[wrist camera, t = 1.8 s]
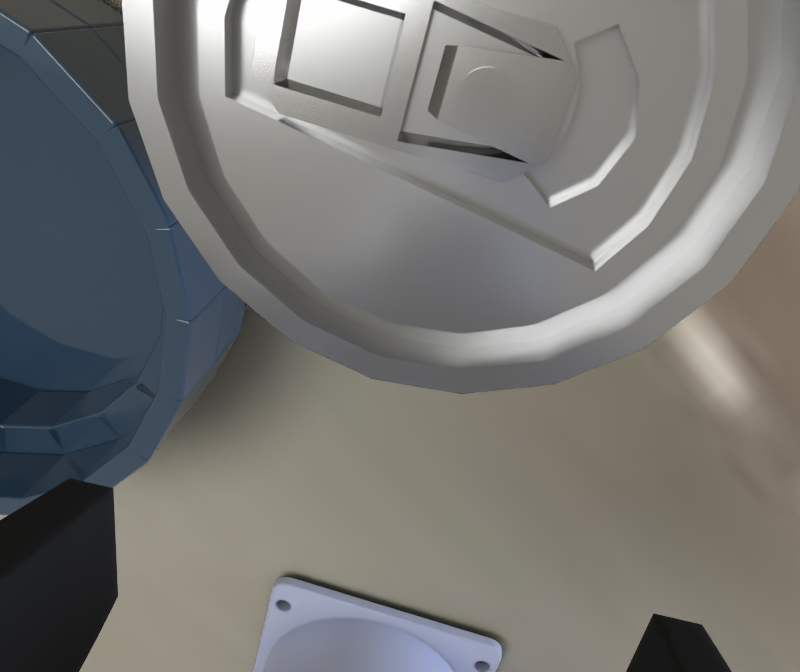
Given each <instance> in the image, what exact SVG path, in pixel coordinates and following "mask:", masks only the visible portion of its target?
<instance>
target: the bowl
mask: <svg viewBox="0 0 800 672" xmlns="http://www.w3.org/2000/svg"><path fill="white" fill-rule="evenodd" d="M244 309H245V302H244V301H243V300H242V299H240V298H239V297H238V296H237V295H236V294H235V293H233V292H232V291H231V290H230V289H229V288H228V287H226V286H225V285H224V284H223V283H222V282H220V281H219V279H218V278H217V276H216V275H215V274H214V272H213V271H212V269H211V268H210V266H209V265H208V263H207V262H206V260H205V259H204V258H203V256H202V255H201V253H200V252H199V250H198V249H197V247H196V246H195V244H194V243H193V242H192V240H191V239H190V237H189V236H188V234H187V233H186V231H185V230H184V228H183V227H182V226H181V224H180V223H179V221H178V220H177V218H176V217H175V215H174V214H173V212H172V211H171V210H170V208H169V207H168V205H167V204H166V202H165V201H164V199H163V196H162V194H161V191H160V188H159V185H158V182H157V179H156V176H155V174H154V171H153V168H152V165H151V162H150V159H149V156H148V154H147V151H146V148H145V145H144V142H143V139H142V137H141V134H140V131H139V128H138V125H137V122H136V119H135V117H134V114H133V111H132V108H131V105H130V102H129V97H128V83H127V68H126V53H125V38H124V24H123V15H122V14H120V13H119V12H117V11H116V10H114V9H113V8H111V7H110V6H108V5H107V4H105V3H104V2H102V1H101V0H0V515H10V514H11V513H13V512H15V511H16V510H18V509H20V508H21V507H23V506H25V505H26V504H28V503H29V502H31V501H33V500H34V499H36V498H38V497H39V496H41V495H43V494H44V493H46V492H48V491H49V490H51V489H52V488H54V487H56V486H58V485H59V484H61V483H63V482H64V481H66V480H68V479H69V478H72V479H76V480H80V481H85V482H89V483H93V484H97V485H102V486H106V487H110V488H113V487H115V486H116V485H117V484H119V483H120V482H121V481H123V480H124V479H125V478H127V477H128V476H129V475H131V474H132V473H134V472H135V471H136V470H138V469H139V468H140V467H142V466H143V465H144V464H146V463H147V462H148V461H149V460H150V459H151V457H152V456H153V455H154V454H155V452H156V451H157V450H158V449H159V447H160V446H161V445H162V443H163V442H164V441H165V440H166V438H167V437H168V436H169V435H170V433H171V432H172V431H173V429H174V428H175V427H176V426H177V424H178V423H179V422H180V421H181V419H182V418H183V416H184V415H185V414H186V413H187V412H188V410H189V409H190V408H191V407H192V405H193V404H194V403H195V401H196V400H197V399H198V398H199V396H200V395H201V394H202V393H203V391H204V390H205V389H206V387H207V386H208V385H209V384H210V382H211V381H212V379H213V378H214V376H215V374H216V372H217V371H218V369H219V367H220V366H221V364H222V362H223V360H224V359H225V357H226V355H227V354H228V352H229V350H230V348H231V347H232V345H233V343H234V342H235V340H236V338H237V337H238V335H239V333H240V329H241V327H242V321H243V315H244Z"/></svg>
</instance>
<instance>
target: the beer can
mask: <svg viewBox="0 0 800 672" xmlns="http://www.w3.org/2000/svg"><path fill="white" fill-rule="evenodd" d="M122 9H123V24H124V38H125V53H126V68H127V83H128V97H129V102H130V105H131V108H132V111H133V114H134V117H135V119H136V122H137V125H138V128H139V131H140V134H141V137H142V139H143V142H144V145H145V148H146V151H147V154H148V156H149V159H150V162H151V165H152V168H153V171H154V174H155V176H156V179H157V182H158V185H159V188H160V191H161V194H162V196H163V199H164V201H165V202H166V204H167V205H168V207H169V208H170V210H171V211H172V212H173V214H174V215H175V217H176V218H177V220H178V221H179V223H180V224H181V226H182V227H183V228H184V230H185V231H186V233H187V234H188V236H189V237H190V239H191V240H192V242H193V243H194V244H195V246H196V247H197V249H198V250H199V252H200V253H201V255H202V256H203V258H204V259H205V260H206V262H207V263H208V265H209V266H210V268H211V269H212V271H213V272H214V274H215V275H216V276H217V278H218V279H219V281H220V282H222V283H223V284H224V285H225V286H226V287H228V288H229V289H230V290H231V291H232V292H233V293H235V294H236V295H237V296H238V297H239V298H240V299H242V300H243V301H244V302H245V303H246V304H248V305H249V306H250V307H251V308H252V309H253V310H255V311H256V312H257V313H258V314H259V315H261V316H262V317H263V318H264V319H265V320H266V321H268V322H269V323H270V324H271V325H272V326H274V327H275V328H276V329H277V330H278V331H279V332H281V333H282V334H283V335H284V336H285V337H286V338H288V339H289V340H290V341H292V342H294V343H296V344H298V345H300V346H303V347H305V348H307V349H309V350H311V351H313V352H315V353H318V354H320V355H322V356H324V357H326V358H328V359H330V360H333V361H335V362H337V363H339V364H341V365H343V366H346V367H348V368H350V369H352V370H354V371H356V372H358V373H361V374H363V375H365V376H367V377H369V378H371V379H375V380H381V381H387V382H393V383H399V384H405V385H411V386H417V387H423V388H429V389H435V390H441V391H447V392H453V393H459V394H466V393H476V392H485V391H495V390H504V389H514V388H523V387H533V386H542V385H552V384H556V383H558V382H561V381H563V380H566V379H568V378H571V377H573V376H576V375H578V374H581V373H584V372H586V371H589V370H591V369H594V368H596V367H599V366H601V365H604V364H606V363H609V362H611V361H614V360H616V359H619V358H621V357H624V356H626V355H629V354H631V353H634V352H636V351H639V350H642V349H644V348H646V347H647V346H648V345H650V344H651V343H652V342H654V341H655V340H656V339H658V338H659V337H660V336H662V335H663V334H664V333H665V332H667V331H668V330H669V329H671V328H672V327H673V326H675V325H676V324H677V323H679V322H680V321H681V320H682V319H684V318H685V317H686V316H688V315H689V314H690V313H692V312H693V311H694V310H696V309H697V308H698V307H700V306H701V305H702V304H703V303H705V302H706V301H707V300H709V299H710V298H711V297H713V296H714V295H715V294H717V293H718V292H719V291H720V290H722V289H723V288H724V287H726V286H727V285H728V284H729V283H730V282H731V281H732V279H733V278H734V277H735V275H736V274H737V273H738V271H739V270H740V269H741V267H742V266H743V264H744V263H745V262H746V260H747V259H748V258H749V256H750V255H751V254H752V252H753V251H754V250H755V248H756V247H757V246H758V244H759V243H760V242H761V240H762V239H763V238H764V236H765V235H766V234H767V232H768V231H769V230H770V228H771V227H772V226H773V224H774V223H775V222H776V220H777V219H778V218H779V216H780V215H781V213H782V212H783V211H784V209H785V208H786V207H787V205H788V204H789V203H790V201H791V200H792V199H793V197H794V196H795V195H796V193H797V192H798V189H799V187H800V0H122Z"/></svg>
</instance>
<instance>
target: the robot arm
mask: <svg viewBox="0 0 800 672" xmlns="http://www.w3.org/2000/svg"><path fill="white" fill-rule="evenodd" d="M117 597H118V587H117V564H116V541H115V519H114V496H113V488H110V487H106V486H102V485H97V484H93V483H89V482H85V481H80V480H76V479H72V478H69V479H68V480H66V481H64V482H63V483H61V484H59V485H58V486H56V487H54V488H52V489H51V490H49V491H48V492H46V493H44V494H43V495H41V496H39V497H38V498H36V499H34V500H33V501H31V502H29V503H28V504H26V505H25V506H23V507H21V508H20V509H18V510H16V511H15V512H13V513H11V514H10V515H8V516H7V517H5V518H3V519H2V520H0V672H79V670H80V669H81V667H82V665H83V663H84V661H85V659H86V657H87V656H88V654H89V652H90V650H91V648H92V646H93V644H94V642H95V641H96V639H97V637H98V635H99V633H100V631H101V629H102V627H103V625H104V623H105V621H106V619H107V617H108V615H109V613H110V611H111V609H112V607H113V605H114V603H115V601H116V599H117ZM282 600H285V601H286V602H284V601H282ZM501 657H502V648H501V645H500V644H499V643H498V642H497V641H496V640H494V639H491V638H488V637H485V636H482V635H479V634H475V633H472V632H469V631H465V630H462V629H459V628H456V627H452V626H449V625H446V624H442V623H439V622H436V621H433V620H429V619H426V618H423V617H419V616H416V615H413V614H410V613H406V612H403V611H400V610H396V609H393V608H390V607H386V606H383V605H380V604H377V603H373V602H370V601H367V600H363V599H360V598H357V597H354V596H350V595H347V594H344V593H340V592H337V591H334V590H331V589H327V588H324V587H321V586H317V585H314V584H311V583H308V582H304V581H301V580H298V579H294V578H291V577H281V578H279V579H277V580H276V582H275V584H274V586H273V589H272V592H271V596H270V600H269V605H268V609H267V613H266V618H265V622H264V626H263V631H262V635H261V640H260V644H259V648H258V653H257V657H256V661H255V666H254V670H253V672H495V671H496V669H497V667H498V665H499V663H500V661H501ZM480 661H485V662H480ZM626 672H731V670H730V668H729V667H728V665H727V664H726V662H725V660H724V659H723V657H722V656H721V654H720V653H719V651H718V649H717V648H716V646H715V645H714V643H713V641H712V640H711V638H710V637H709V635H708V634H707V632H706V630H705V629H704V627H703V626H702V625H701V624H696V623H692V622H688V621H683V620H679V619H675V618H671V617H666V616H662V615H658V614H653V616H652V618H651V620H650V622H649V624H648V626H647V629H646V631H645V633H644V635H643V637H642V639H641V641H640V643H639V646H638V648H637V650H636V652H635V654H634V656H633V658H632V660H631V663H630V665H629V667H628V669H627V671H626Z"/></svg>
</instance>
